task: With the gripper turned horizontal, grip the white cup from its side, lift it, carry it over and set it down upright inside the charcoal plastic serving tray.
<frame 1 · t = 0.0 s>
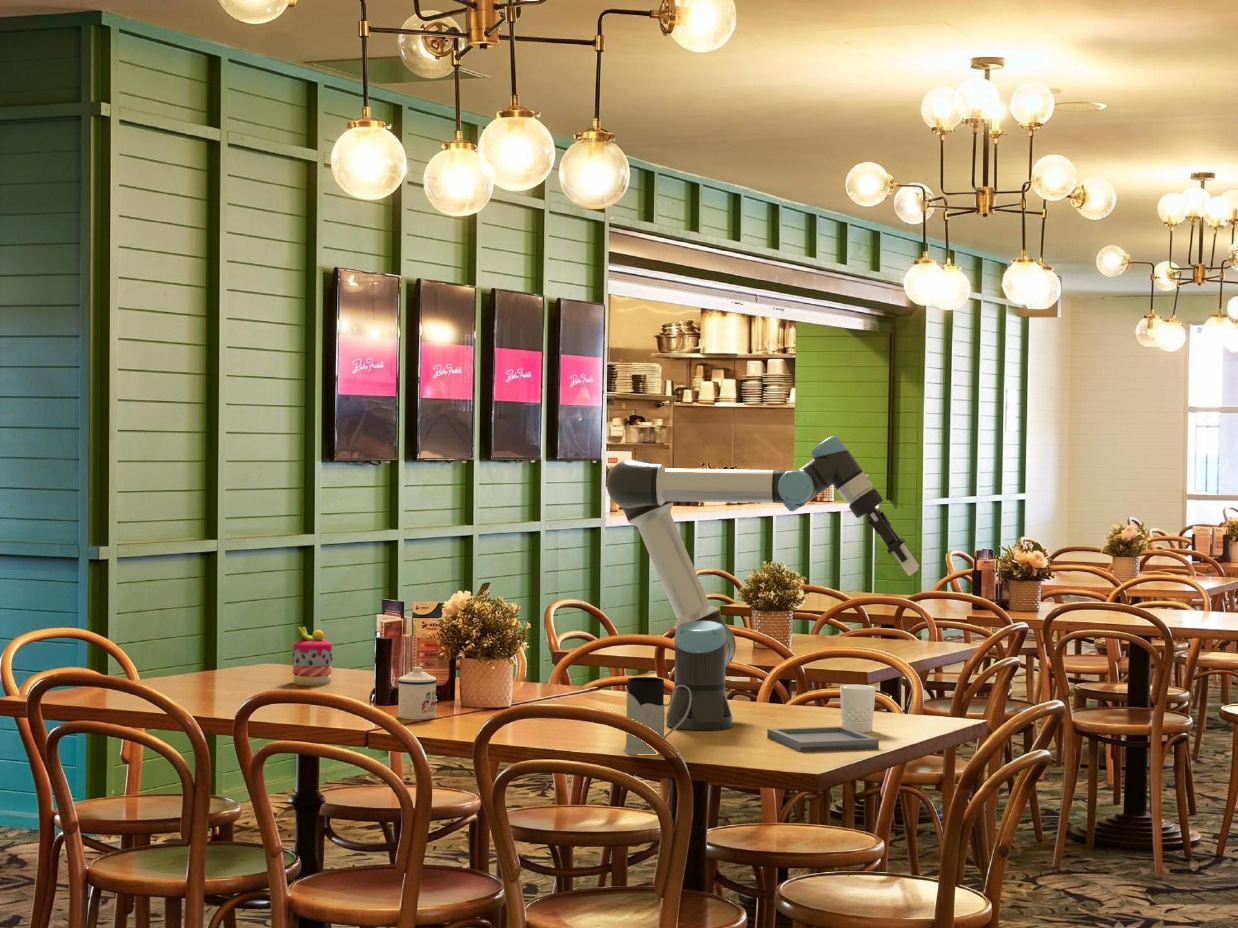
hand: (914, 571, 368), 36 cm above the table, tool tilted 35°, fingers open, 13 cm apart
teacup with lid: (419, 717, 373), on the table
cake: (312, 683, 428), on the table
serving tray: (821, 743, 343), on the table
glass holder: (657, 752, 330), on the table
white cup: (857, 731, 360), on the table
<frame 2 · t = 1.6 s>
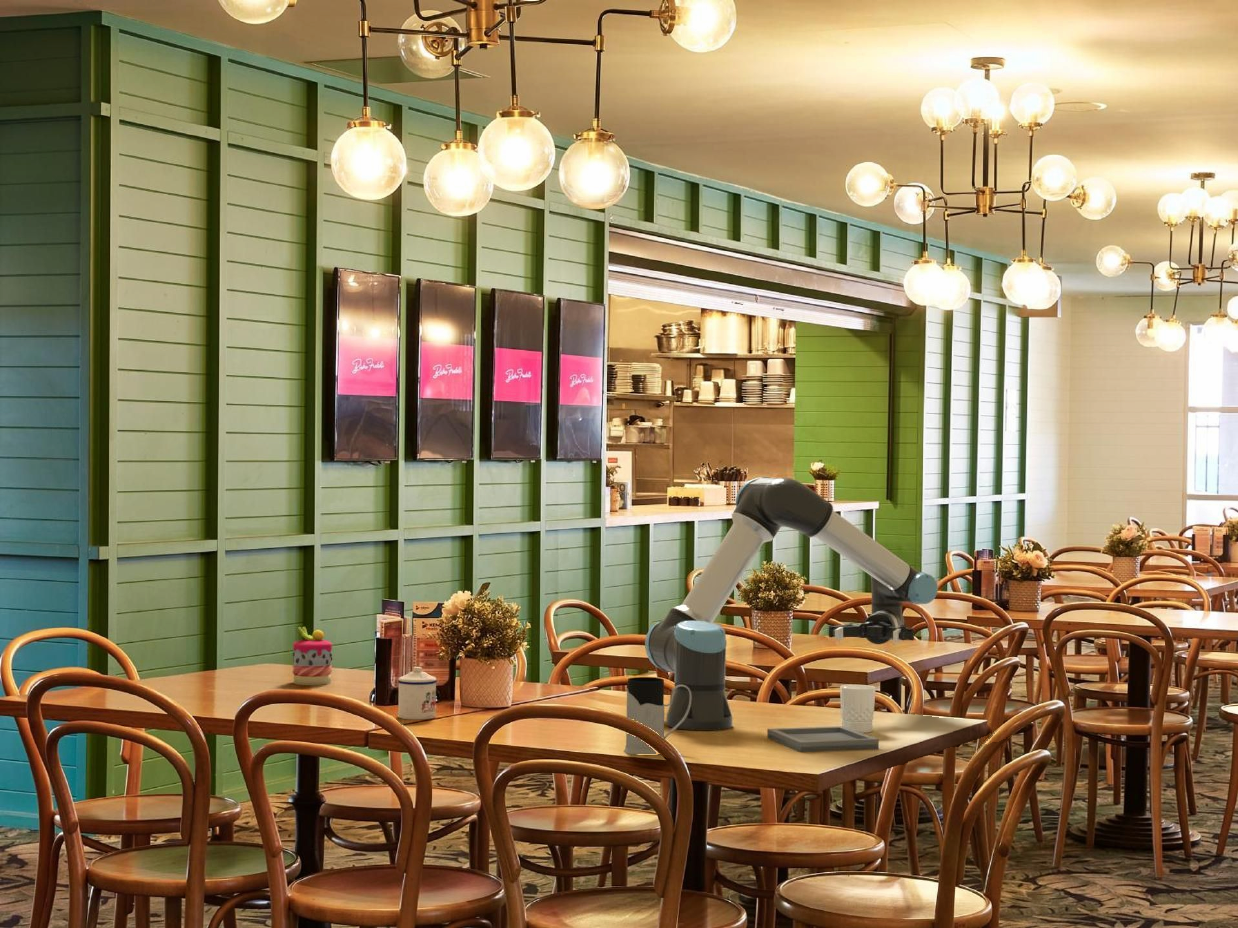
hand: (865, 636, 369), 20 cm above the table, tool horizontal, fingers open, 13 cm apart
nothing on the table moved.
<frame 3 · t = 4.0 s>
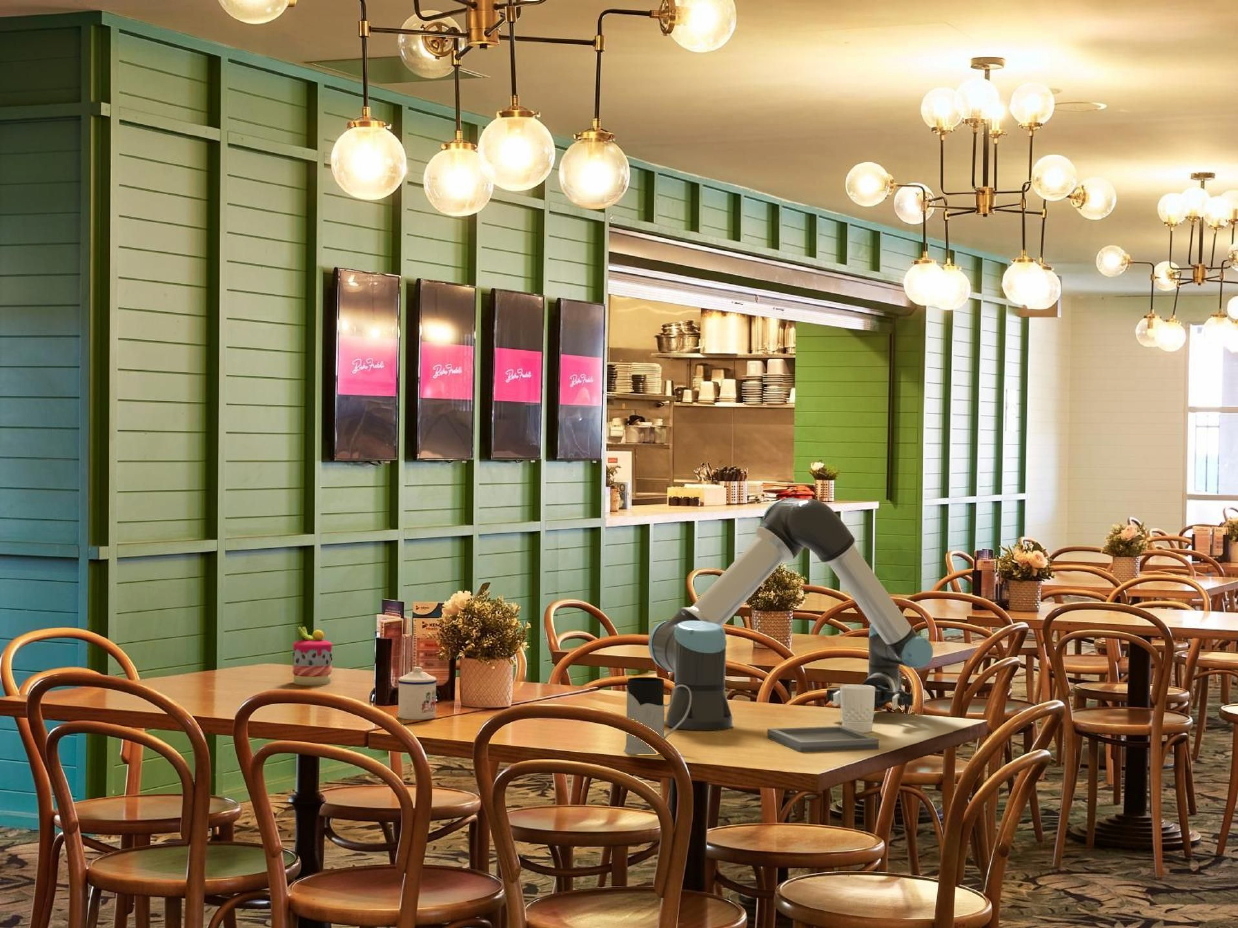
hand: (864, 701, 366), 6 cm above the table, tool horizontal, fingers open, 13 cm apart
nothing on the table moved.
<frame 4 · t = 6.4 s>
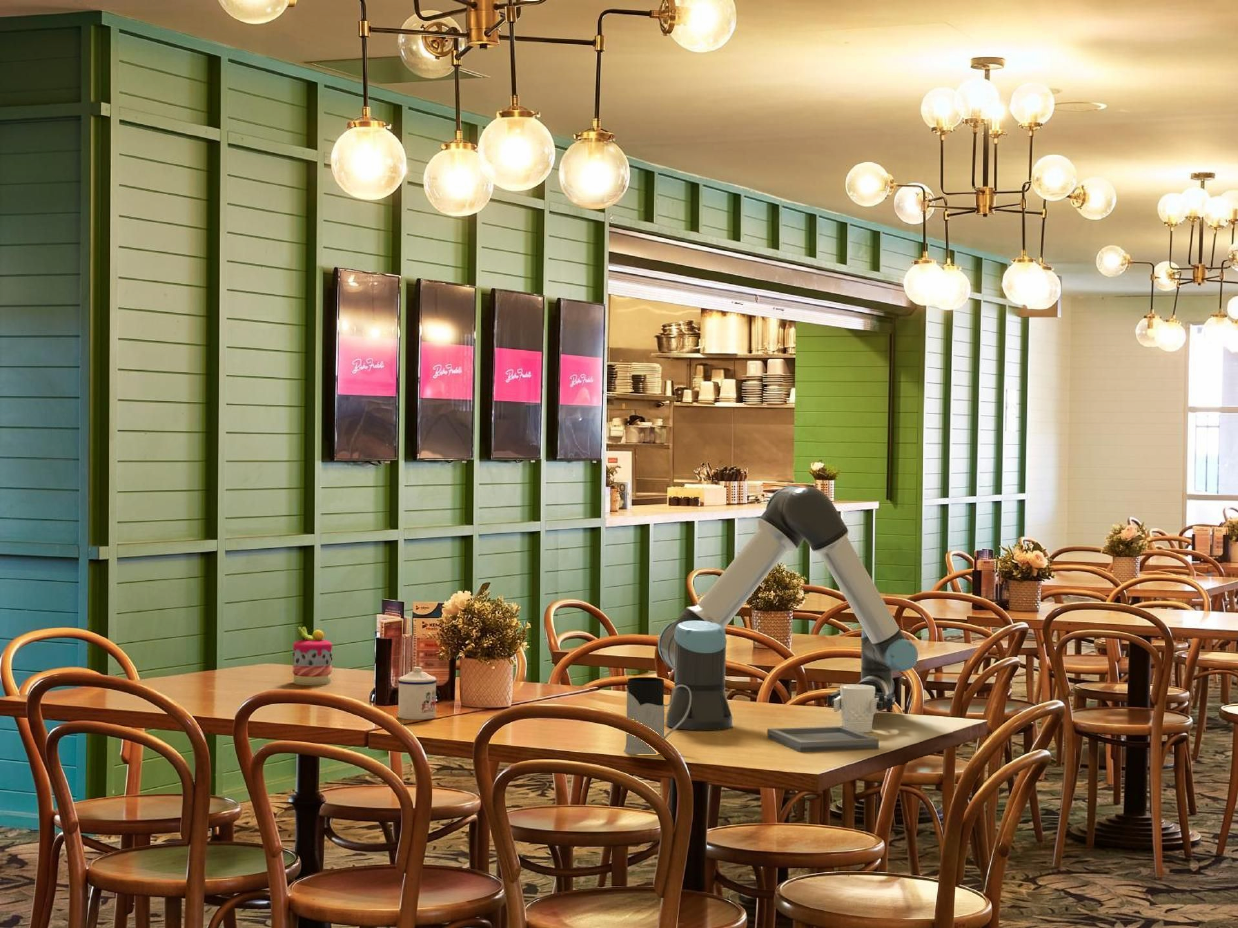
hand: (853, 706, 356), 6 cm above the table, tool horizontal, fingers closed on white cup, 8 cm apart
white cup: (857, 731, 360), on the table, touching gripper
everything else where it was.
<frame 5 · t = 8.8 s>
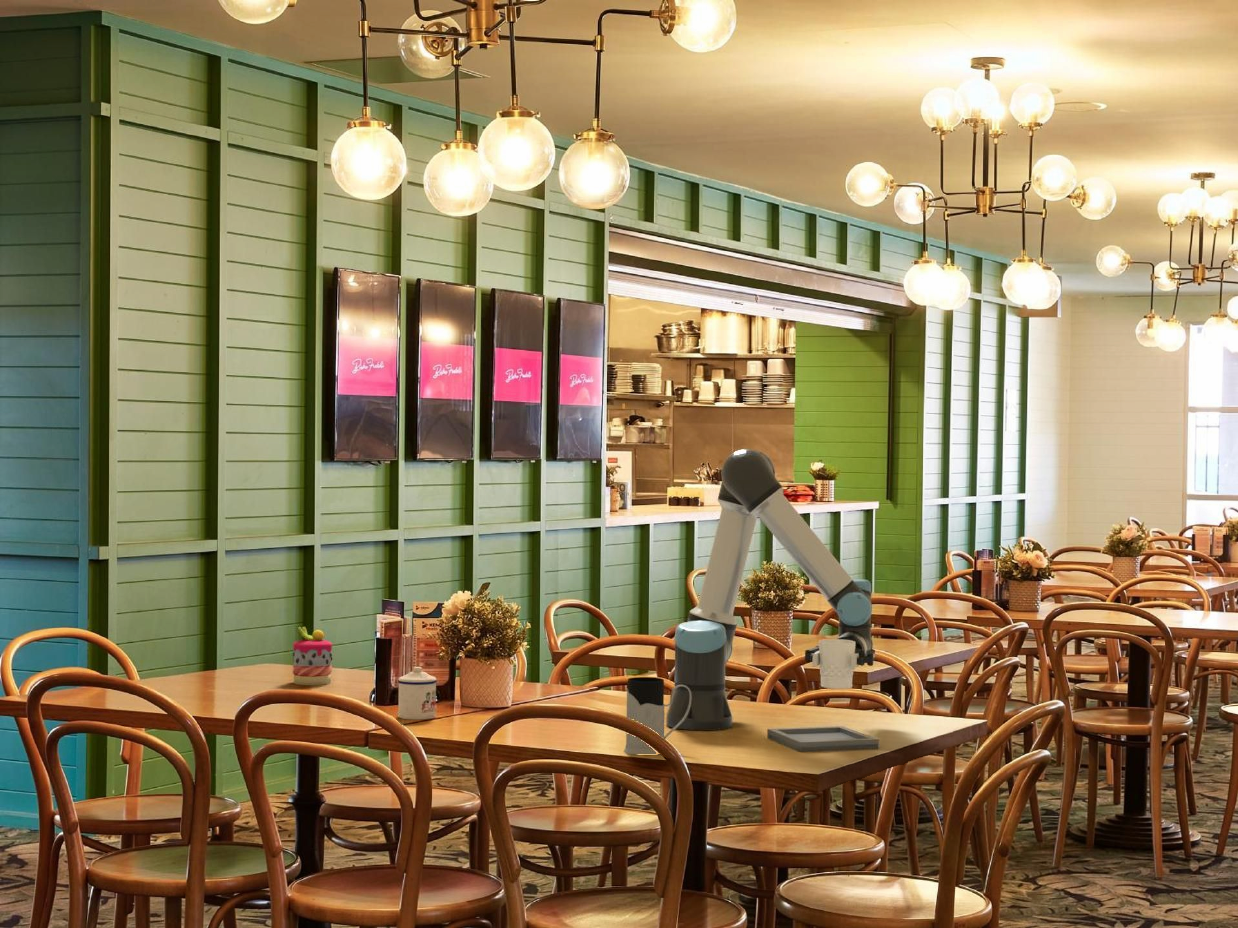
hand: (833, 661, 341), 18 cm above the table, tool horizontal, fingers closed on white cup, 8 cm apart
white cup: (836, 687, 346), point 12 cm above the table, touching gripper
everything else where it was.
when the fingers open (8 cm above the table, at t = 11.4 s): white cup drops 1 cm, resting on serving tray.
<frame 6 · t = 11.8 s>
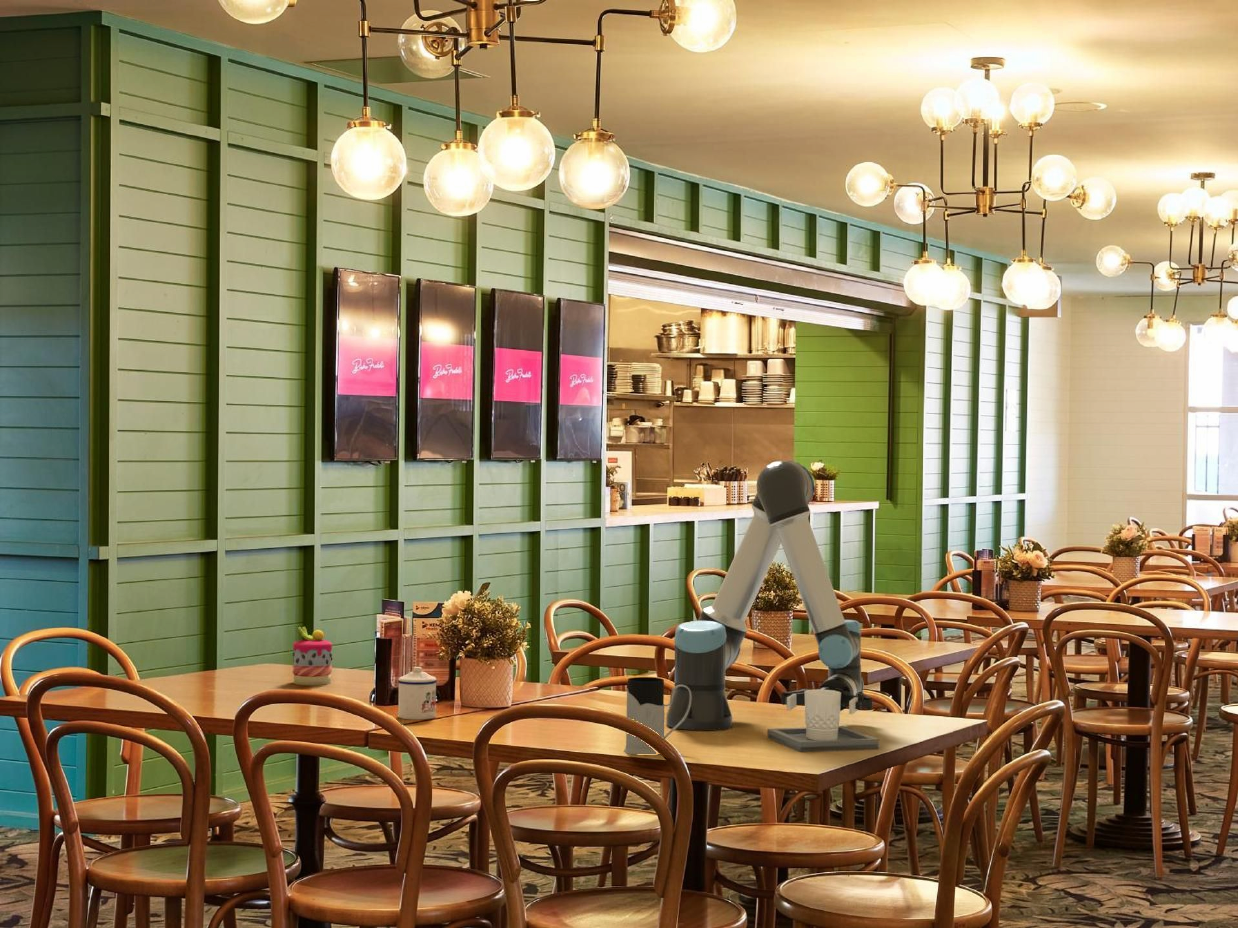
hand: (819, 705, 340), 8 cm above the table, tool horizontal, fingers open, 13 cm apart
white cup: (821, 739, 343), point 1 cm above the table, touching serving tray
everything else where it was.
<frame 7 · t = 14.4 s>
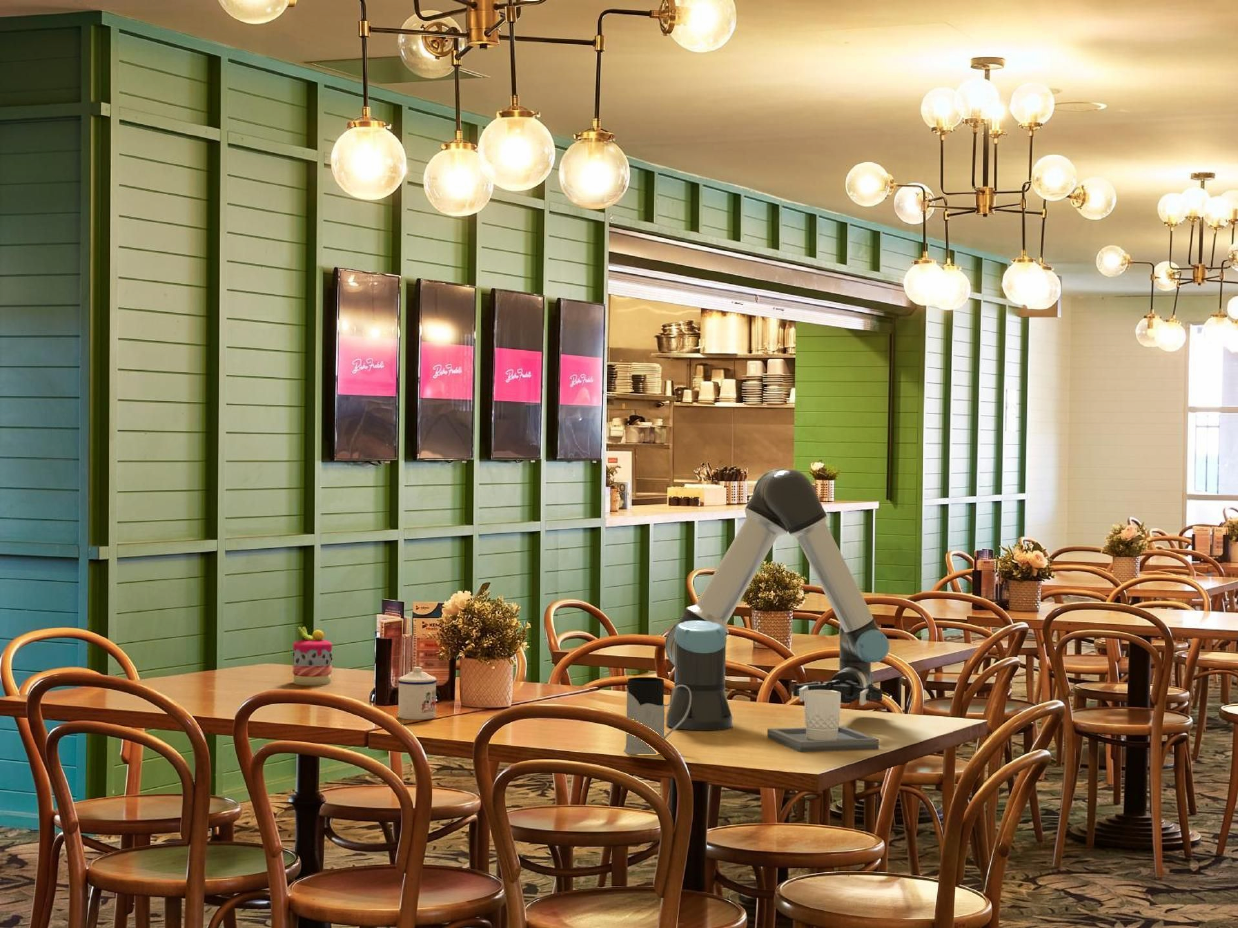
hand: (830, 697, 352), 9 cm above the table, tool horizontal, fingers open, 13 cm apart
nothing on the table moved.
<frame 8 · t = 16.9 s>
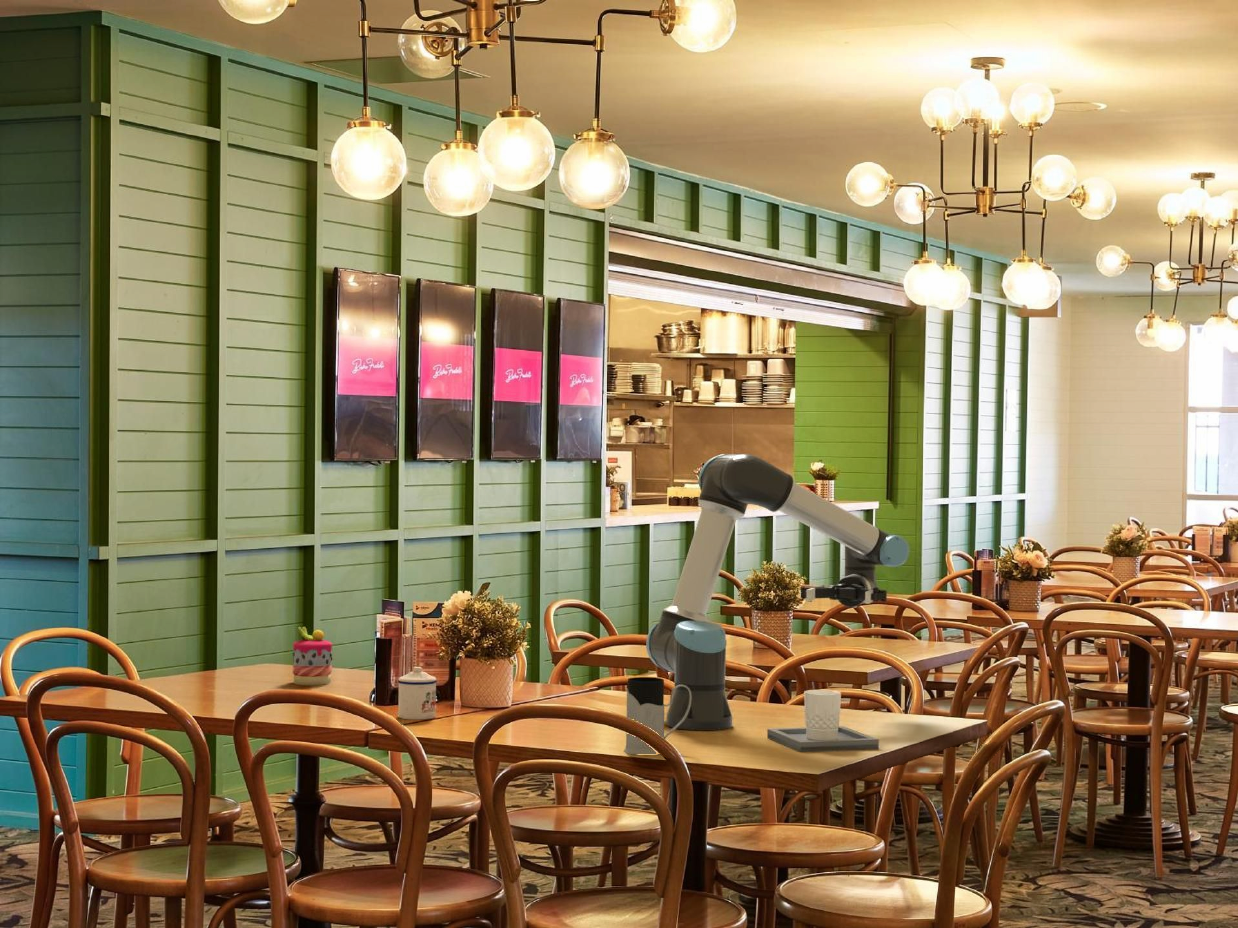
hand: (837, 596, 365), 30 cm above the table, tool horizontal, fingers open, 13 cm apart
nothing on the table moved.
at the end: white cup inside the target area on the serving tray (0.0 cm from its centre), point 0.8 cm above the serving tray's base; white cup tilted 0°; the gripper is holding nothing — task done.
